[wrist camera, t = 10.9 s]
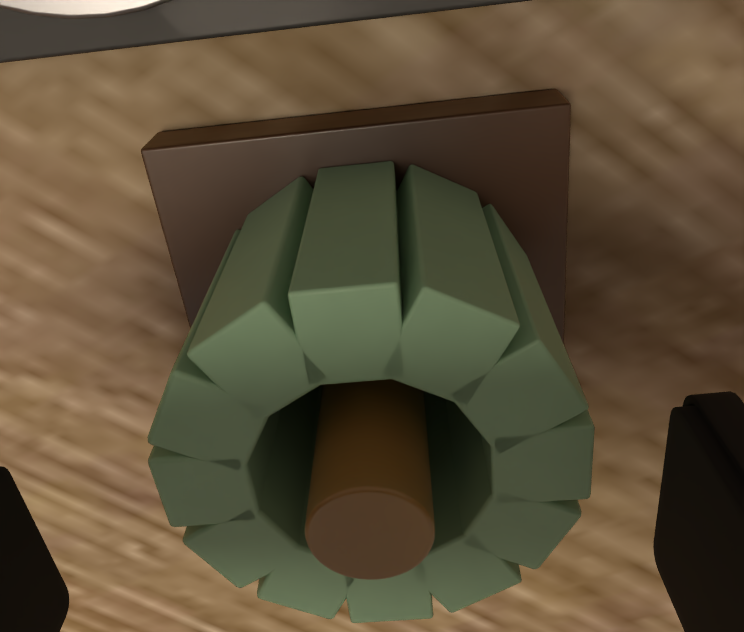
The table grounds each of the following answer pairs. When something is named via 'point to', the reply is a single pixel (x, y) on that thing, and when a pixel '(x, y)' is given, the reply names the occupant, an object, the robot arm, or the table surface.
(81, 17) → the burner
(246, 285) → the ring
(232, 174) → the peg stand
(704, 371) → the table surface
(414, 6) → the hob
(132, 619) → the table surface
